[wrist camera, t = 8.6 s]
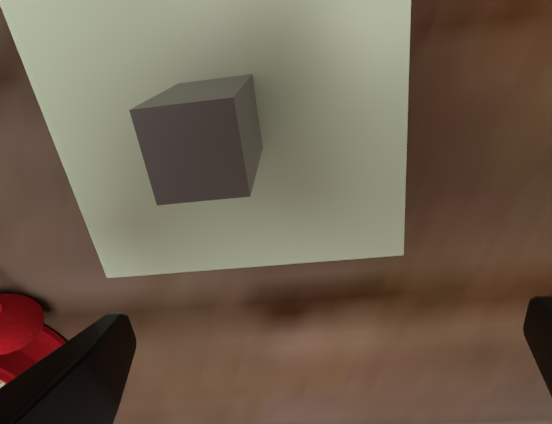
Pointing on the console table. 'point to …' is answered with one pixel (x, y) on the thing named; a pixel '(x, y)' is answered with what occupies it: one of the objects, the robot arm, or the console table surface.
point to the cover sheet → (301, 113)
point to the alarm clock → (23, 336)
